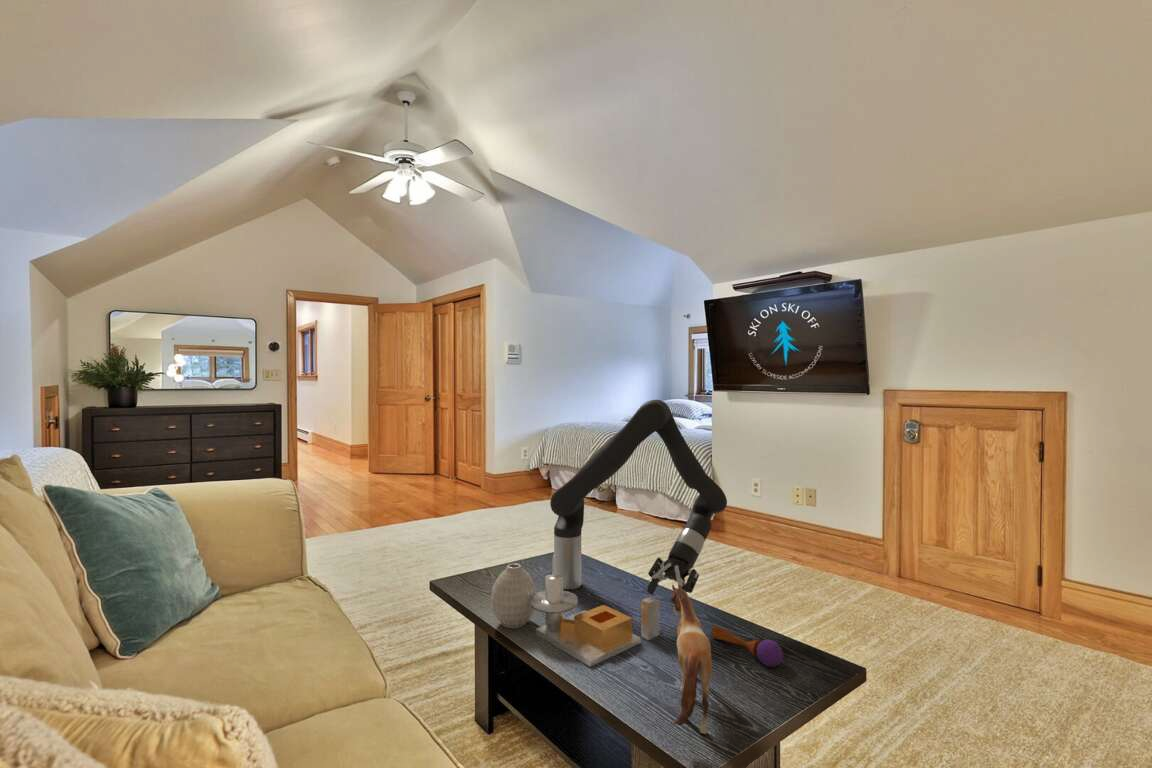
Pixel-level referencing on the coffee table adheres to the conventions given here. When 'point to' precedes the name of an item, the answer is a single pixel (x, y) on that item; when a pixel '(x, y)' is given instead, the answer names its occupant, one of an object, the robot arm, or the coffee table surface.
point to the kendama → (753, 646)
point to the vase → (513, 597)
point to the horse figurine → (691, 657)
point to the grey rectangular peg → (650, 617)
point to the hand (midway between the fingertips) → (661, 597)
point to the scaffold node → (581, 625)
